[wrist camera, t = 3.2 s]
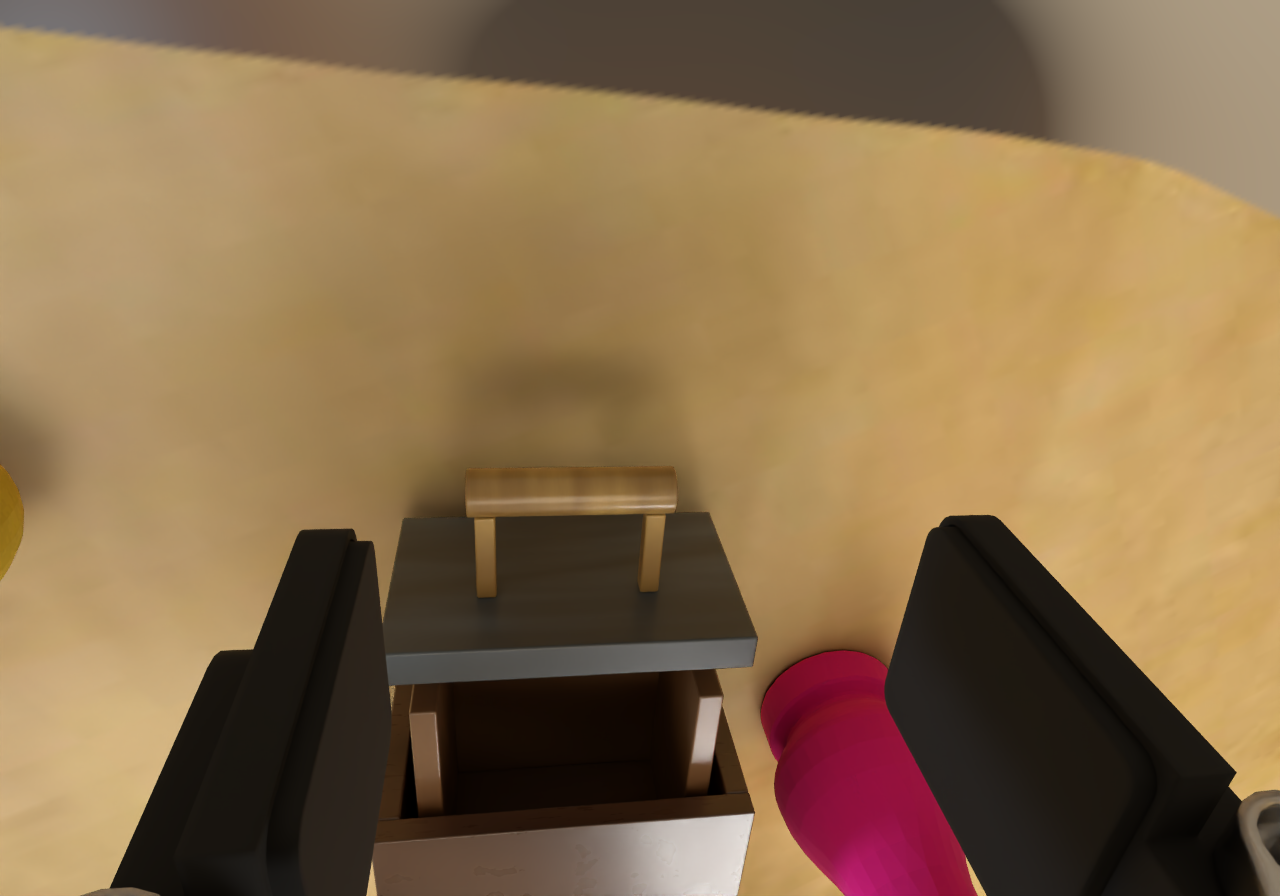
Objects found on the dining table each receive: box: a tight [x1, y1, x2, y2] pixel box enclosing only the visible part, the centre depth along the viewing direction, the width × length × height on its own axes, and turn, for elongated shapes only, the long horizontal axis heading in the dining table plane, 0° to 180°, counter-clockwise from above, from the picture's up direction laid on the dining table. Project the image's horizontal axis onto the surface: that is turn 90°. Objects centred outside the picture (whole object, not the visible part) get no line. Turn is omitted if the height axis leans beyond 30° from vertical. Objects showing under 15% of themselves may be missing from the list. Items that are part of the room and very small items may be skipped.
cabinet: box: [372, 684, 755, 896], centre depth 33 cm, size 14×12×9 cm
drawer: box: [382, 466, 758, 818], centre depth 28 cm, size 17×11×7 cm, turn 176°
